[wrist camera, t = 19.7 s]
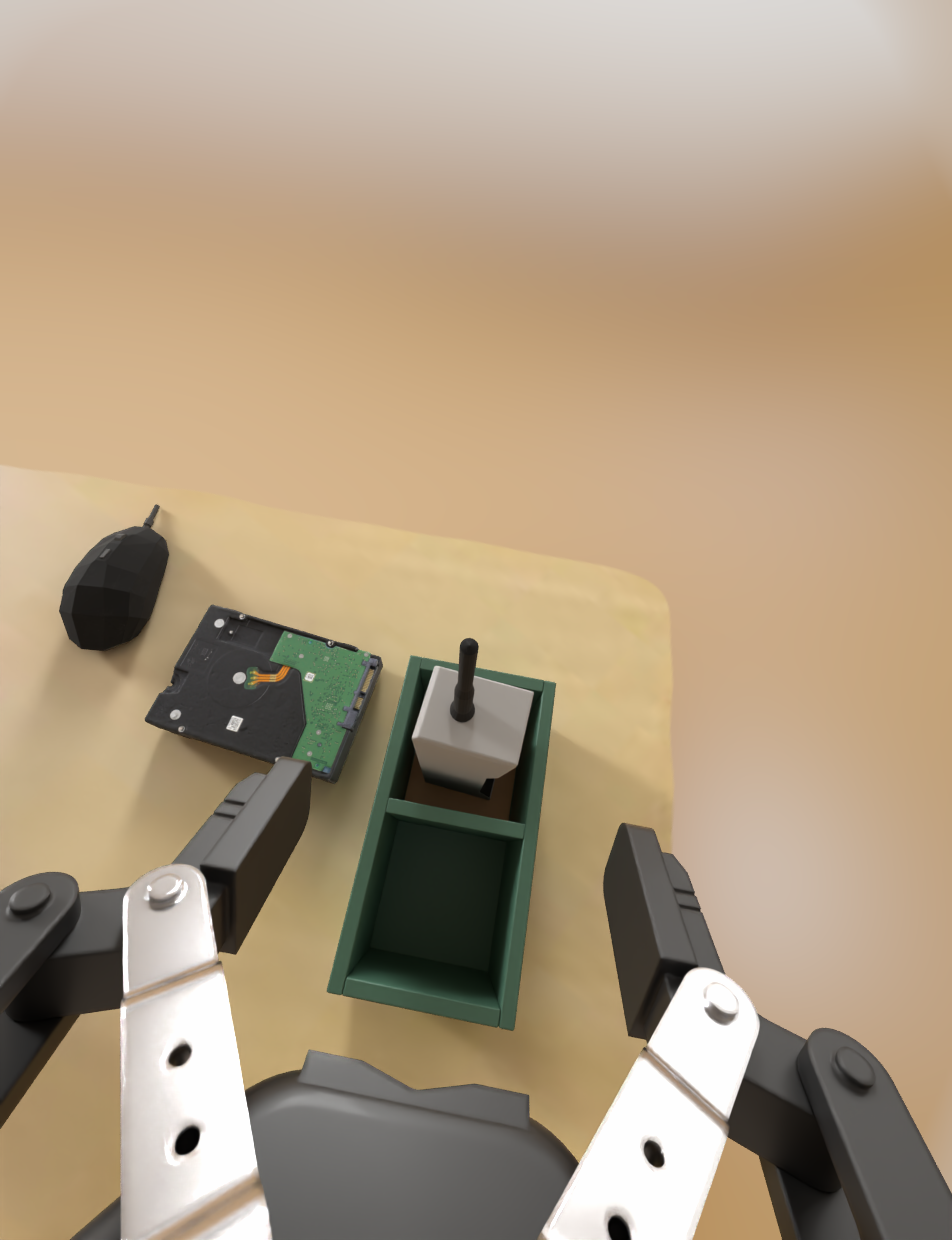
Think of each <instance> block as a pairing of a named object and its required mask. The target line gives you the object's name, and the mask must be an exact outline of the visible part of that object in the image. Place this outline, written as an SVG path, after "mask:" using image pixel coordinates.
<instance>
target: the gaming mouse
mask: <svg viewBox="0 0 952 1240" xmlns="http://www.w3.org/2000/svg"><path fill="white" fill-rule="evenodd" d="M159 507H160V506H159V505H155V506H154V508H153V510H152V512H151V514H150V516H149V518H146V520H145V522H144V525H143V527H136V526H134V527H131V528H128V529H125V530H122V531H118V532H115V533H113V534H111V535H109V536H107V537H105V538H103V539H102V540H101V541H100V542H99V543H98V544H97V545H95V546H94V547H93V548H92V549H91V550H90V551H89V552H88V553H87V554H86V556H85V557H84V558H83V559H82V560H81V562H80V563H79V564H78V565H77V566H76V567H75V569H74V571H73V572H72V574H71V576H70V577H69V579H68V581H67V582H66V584H65V586H64V589H63V596H62V600H61V605H60V609H59V612H60V614H61V617H62V620H63V623H64V625H65V628H66V631H67V634H68V636H69V639H70V640H71V641H72V642H74V643H75V644H76V645H77V646H78V647H80V648H81V649H89V650H100V651H106V650H109V649H111V648H114V647H116V646H119V645H121V644H123V643H126V642H128V641H130V640H132V639H133V638H135V637H136V636H138V634H139V633H140V631H141V630H142V629H143V627H144V626H145V624H146V623H147V621H148V620H149V618H150V615H151V613H152V610H153V607H154V604H155V601H156V597H157V594H158V590H159V587H160V584H161V581H162V578H163V575H164V571H165V568H166V564H167V560H168V556H169V552H168V548H167V543H166V540H165V539H164V538H163V537H162V536H160V535H159V534H158V533H156V532H155V531H154V530H152V529H151V527H152V525H153V523H154V521H153V519H154V517H155V515H156V513H157V511H158V509H159Z"/></svg>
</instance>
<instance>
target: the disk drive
mask: <svg viewBox="0 0 952 1240" xmlns="http://www.w3.org/2000/svg"><path fill="white" fill-rule="evenodd" d="M382 667H383V664H382V660H381V658H380V657H379V656H376V655H372V654H371V653H369V652H365V651H362V650H359V649H358V648H357V647H355V646H352V645H349V644H345V643H340V642H336V641H333V640H329V639H326V638H323V637H320V636H317V635H313V634H310V633H307V632H304V631H300V630H297V629H293V628H290V627H287V626H283V625H280V624H276V623H273V622H270V621H267V620H263V619H259V618H257V617H253V616H249V615H246V614H243V613H241V612H238V611H236V610H232V609H228V608H223V607H219V606H215V605H211V606H210V607H209V608H208V610H207V612H206V614H205V615H204V617H203V619H202V621H201V622H200V624H199V626H198V628H197V630H196V631H195V633H194V635H193V637H192V638H191V640H190V642H189V643H188V645H187V647H186V648H185V650H184V651H183V653H182V655H181V657H180V658H179V660H178V662H177V663H176V665H175V667H174V668H175V669H174V674H173V676H172V680H171V683H172V684H173V685H172V686H168V687H167V688H166V690H164V691H163V693H159V695H158V697H157V698H156V700H155V702H154V704H153V705H152V707H151V709H150V711H149V712H148V714H147V716H146V717H145V721H146V722H147V723H149V724H151V725H154V726H156V727H158V728H160V729H165V730H168V731H170V732H172V733H174V734H178V735H181V736H183V737H187V738H193V739H196V740H200V741H202V742H206V743H209V744H212V745H215V746H218V747H222V748H224V749H228V750H231V751H234V752H237V753H240V754H244V755H247V756H250V757H253V758H255V759H259V760H263V761H265V762H268V763H272V764H275V763H276V762H277V760H278V759H279V758H280V757H282V756H284V757H289V758H294V759H300V760H305V761H310V762H311V764H312V777H315V778H318V779H321V780H324V781H327V782H330V783H333V784H335V783H337V781H338V778H339V775H340V773H341V770H342V768H343V765H344V763H345V761H346V758H347V756H348V753H349V751H350V748H351V746H352V743H353V741H354V738H355V736H356V733H357V730H358V728H359V725H360V723H361V720H362V718H363V715H364V713H365V710H366V708H367V705H368V702H369V700H370V698H371V695H372V692H373V690H374V687H375V685H376V682H377V680H378V677H379V675H380V672H381V669H382Z"/></svg>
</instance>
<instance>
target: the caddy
mask: <svg viewBox="0 0 952 1240" xmlns="http://www.w3.org/2000/svg"><path fill="white" fill-rule="evenodd" d="M435 666H440V667H444V668H447V669H451V670H455V671H458V670H459V664H455V663H450V662H444V661H439V660H434V659H429V658H422V657H418V656H412V655H411V656H410V659H409V663H408V667H407V671H406V675H405V679H404V683H403V687H402V691H401V695H400V699H399V703H398V707H397V711H396V715H395V719H394V723H393V727H392V731H391V735H390V739H389V743H388V747H387V751H386V755H385V759H384V763H383V767H382V771H381V775H380V779H379V783H378V787H377V791H376V795H375V799H374V803H373V807H372V811H371V815H370V819H369V823H368V827H367V831H366V835H365V839H364V843H363V847H362V851H361V855H360V859H359V863H358V867H357V871H356V875H355V879H354V883H353V887H352V891H351V895H350V899H349V903H348V907H347V911H346V915H345V919H344V923H343V927H342V931H341V935H340V939H339V943H338V947H337V951H336V956H335V960H334V964H333V968H332V972H331V976H330V980H329V984H328V988H327V992H328V993H332V994H337V995H342V994H343V996H347V997H352V998H357V999H361V1000H366V1001H371V1002H376V1003H381V1004H385V1005H390V1006H395V1007H400V1008H405V1009H410V1010H414V1011H419V1012H424V1013H429V1014H434V1015H438V1016H443V1017H448V1018H453V1019H458V1020H463V1021H467V1022H472V1023H477V1024H482V1025H487V1026H491V1027H496V1028H497V1027H498V1026H499V1028H501V1029H506V1030H511V1031H513V1030H514V1028H515V1020H516V1012H517V1004H518V995H519V987H520V979H521V970H522V962H523V954H524V945H525V937H526V929H527V921H528V912H529V904H530V896H531V887H532V879H533V871H534V862H535V854H536V846H537V838H538V829H539V821H540V813H541V804H542V796H543V788H544V780H545V771H546V763H547V755H548V746H549V738H550V730H551V721H552V713H553V705H554V697H555V688H556V683H554V682H549V681H544V680H539V679H534V678H529V677H524V676H518V675H513V674H508V673H503V672H497V671H492V670H487V669H481V668H476V667H475V673H474V676H477V677H481V678H484V679H488V680H492V681H495V682H499V683H503V684H506V685H510V686H514V687H517V688H521V689H525V690H528V691H532V692H534V695H533V699H532V704H531V708H530V713H529V717H528V722H527V726H526V730H525V735H524V739H523V744H522V748H521V753H520V757H519V761H518V765H517V766H516V767H515V768H514V769H512V770H511V771H509V772H507V773H506V774H504V775H502V776H501V777H499V778H495V782H494V786H493V790H492V794H491V798H490V800H486V799H482V798H479V797H475V796H472V795H468V794H465V793H461V792H458V791H454V790H451V789H447V788H444V787H440V786H437V785H433V784H430V783H426V782H425V780H424V776H423V773H422V770H421V767H420V764H419V760H418V757H417V754H416V751H415V748H414V744H413V741H412V736H413V732H414V729H415V726H416V723H417V720H418V717H419V714H420V710H421V707H422V704H423V701H424V698H425V695H426V691H427V688H428V685H429V682H430V679H431V676H432V673H433V669H434V667H435Z"/></svg>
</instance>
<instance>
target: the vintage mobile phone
mask: <svg viewBox="0 0 952 1240" xmlns="http://www.w3.org/2000/svg"><path fill="white" fill-rule="evenodd" d="M478 647H479V646H478V643H477V642H476V641H475V640H474V639H471V638H467V639H464V640H463V641H462V642H461V644H460V654H459V670H458V671H455V670H451V669H447V668H444V667H440V666H435V667H434V669H433V673H432V676H431V679H430V682H429V685H428V688H427V691H426V695H425V698H424V701H423V704H422V707H421V710H420V714H419V717H418V720H417V723H416V726H415V729H414V732H413V736H412V741H413V744H414V748H415V751H416V754H417V757H418V760H419V764H420V767H421V770H422V773H423V776H424V780H425V782H426V783H430V784H433V785H437V786H440V787H444V788H447V789H451V790H454V791H458V792H461V793H465V794H468V795H472V796H475V797H479V798H482V799H486V800H490V798H491V794H492V790H493V786H494V782H495V778H499V777H501V776H502V775H504V774H506V773H507V772H509V771H511V770H512V769H514V768H515V767H516V766H517V765H518V761H519V757H520V753H521V748H522V744H523V739H524V735H525V730H526V726H527V722H528V717H529V713H530V708H531V704H532V699H533V695H534V692H532V691H528V690H525V689H521V688H517V687H514V686H510V685H506V684H503V683H499V682H495V681H492V680H488V679H484V678H481V677H477V676H474V673H475V667H476V660H477V654H478Z"/></svg>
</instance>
